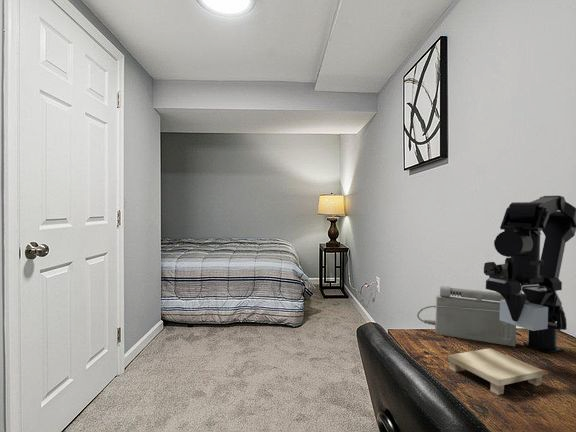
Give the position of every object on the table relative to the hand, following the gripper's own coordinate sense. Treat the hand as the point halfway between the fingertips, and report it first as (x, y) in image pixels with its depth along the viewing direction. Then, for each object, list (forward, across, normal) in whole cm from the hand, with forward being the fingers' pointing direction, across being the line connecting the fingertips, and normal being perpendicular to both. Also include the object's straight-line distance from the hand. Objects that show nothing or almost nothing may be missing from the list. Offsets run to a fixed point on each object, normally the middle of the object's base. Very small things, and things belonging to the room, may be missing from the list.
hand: (522, 320), depth 81 cm
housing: (+1, 0, 0) cm, 1 cm away
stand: (+10, +14, +4) cm, 17 cm away
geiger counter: (+10, 0, -16) cm, 19 cm away
